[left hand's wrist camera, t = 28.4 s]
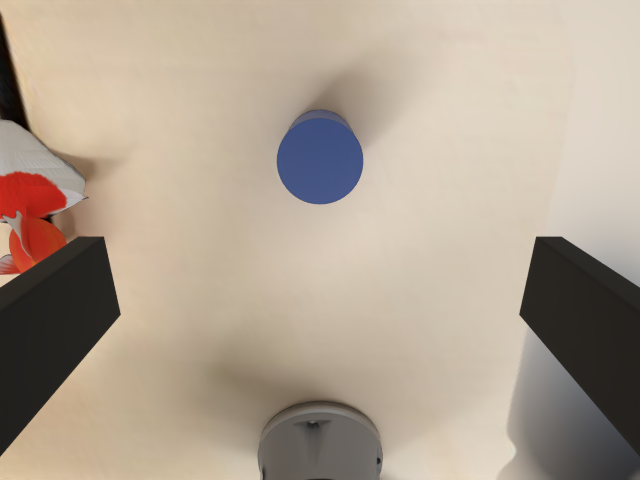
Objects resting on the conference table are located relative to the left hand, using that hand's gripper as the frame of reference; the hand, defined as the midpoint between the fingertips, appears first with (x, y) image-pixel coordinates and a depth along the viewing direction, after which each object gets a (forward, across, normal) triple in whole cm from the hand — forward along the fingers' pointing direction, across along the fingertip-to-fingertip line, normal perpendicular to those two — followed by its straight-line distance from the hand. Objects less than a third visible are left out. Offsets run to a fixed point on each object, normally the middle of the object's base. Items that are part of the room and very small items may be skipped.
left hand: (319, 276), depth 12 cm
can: (+26, 0, 0) cm, 26 cm away
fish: (+26, +26, +5) cm, 37 cm away
